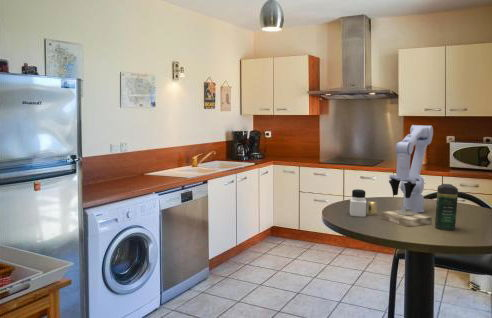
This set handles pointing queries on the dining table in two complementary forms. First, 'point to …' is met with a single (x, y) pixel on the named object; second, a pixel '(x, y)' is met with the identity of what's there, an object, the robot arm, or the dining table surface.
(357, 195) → the medicine bottle
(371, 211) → the brass round peg
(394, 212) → the bore block
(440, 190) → the coffee jar
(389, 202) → the dining table surface
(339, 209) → the dining table surface
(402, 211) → the steel square peg
